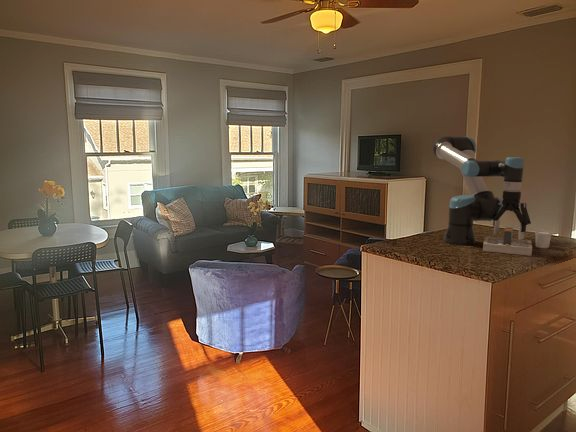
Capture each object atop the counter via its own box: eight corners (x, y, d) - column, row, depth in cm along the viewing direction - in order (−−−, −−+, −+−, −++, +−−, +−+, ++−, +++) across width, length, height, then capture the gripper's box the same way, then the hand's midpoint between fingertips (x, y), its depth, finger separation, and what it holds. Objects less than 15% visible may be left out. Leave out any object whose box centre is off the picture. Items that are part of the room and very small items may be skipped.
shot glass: (542, 248, 214) (543, 234, 212) (530, 245, 220) (532, 231, 219) (553, 247, 215) (555, 233, 214) (542, 244, 222) (543, 231, 221)
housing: (482, 250, 209) (483, 242, 208) (485, 243, 225) (486, 235, 224) (531, 255, 200) (532, 247, 199) (530, 247, 216) (531, 239, 215)
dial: (494, 240, 220) (495, 224, 218) (522, 243, 214) (523, 226, 213) (492, 245, 209) (493, 228, 208) (521, 248, 204) (523, 231, 202)
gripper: (484, 188, 217) (480, 232, 220) (531, 193, 195) (527, 242, 199) (494, 188, 220) (491, 231, 223) (542, 193, 199) (537, 240, 202)
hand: (508, 236), depth 211 cm, fingers open, 12 cm apart
